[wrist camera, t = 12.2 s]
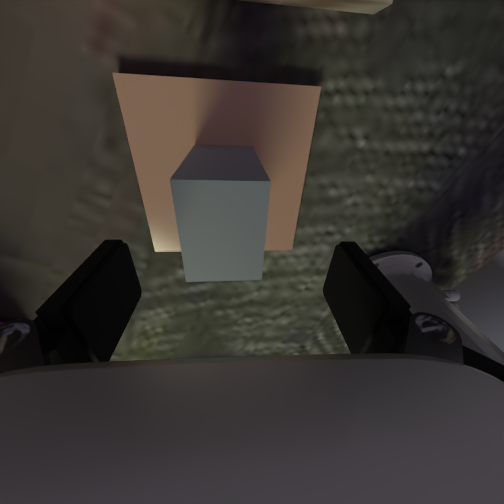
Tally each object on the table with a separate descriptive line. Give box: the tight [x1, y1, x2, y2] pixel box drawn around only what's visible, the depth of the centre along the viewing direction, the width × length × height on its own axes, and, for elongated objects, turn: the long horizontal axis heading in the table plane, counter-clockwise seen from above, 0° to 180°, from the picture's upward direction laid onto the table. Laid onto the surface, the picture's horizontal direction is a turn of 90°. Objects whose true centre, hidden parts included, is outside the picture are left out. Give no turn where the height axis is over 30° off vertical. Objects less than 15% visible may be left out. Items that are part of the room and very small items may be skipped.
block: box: [170, 145, 271, 282], centre depth 15 cm, size 4×6×9 cm
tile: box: [112, 73, 321, 252], centre depth 19 cm, size 14×14×1 cm
